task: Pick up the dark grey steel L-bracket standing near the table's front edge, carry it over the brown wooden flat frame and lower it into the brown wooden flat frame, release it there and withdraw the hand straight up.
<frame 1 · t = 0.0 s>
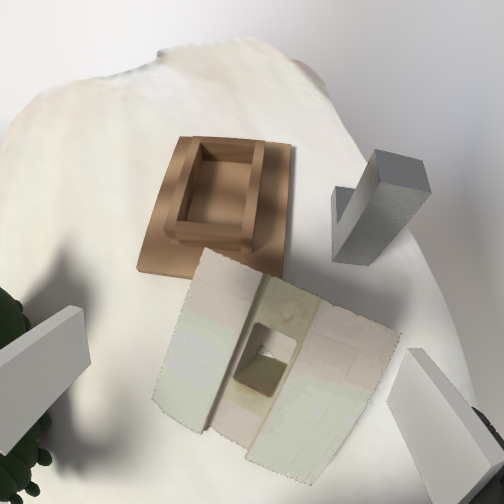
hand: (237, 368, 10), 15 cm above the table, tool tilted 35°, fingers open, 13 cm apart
toy figurine: (28, 386, 22), on the table
bracket: (350, 250, 29), on the table
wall: (257, 384, 24), on the table
brown wooden flat frame: (221, 202, 31), on the table
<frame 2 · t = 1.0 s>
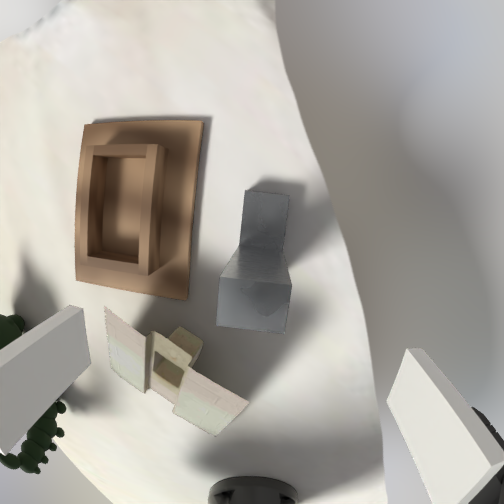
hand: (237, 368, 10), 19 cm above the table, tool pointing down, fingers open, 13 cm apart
toy figurine: (37, 359, 34), on the table
bracket: (259, 259, 29), on the table
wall: (178, 363, 32), on the table
brown wooden flat frame: (131, 206, 29), on the table
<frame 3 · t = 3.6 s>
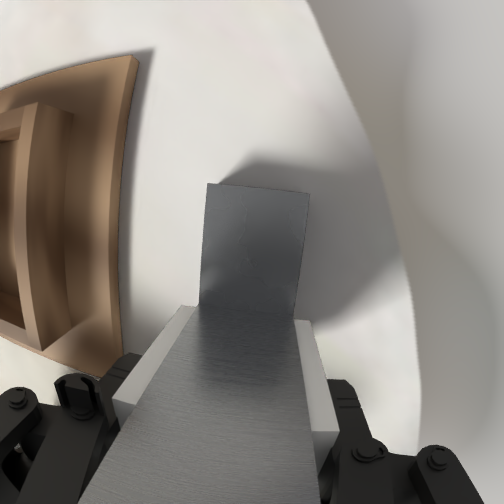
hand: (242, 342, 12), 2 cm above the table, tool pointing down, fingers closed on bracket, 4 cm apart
bracket: (246, 321, 14), on the table, touching gripper
brown wooden flat frame: (30, 219, 14), on the table
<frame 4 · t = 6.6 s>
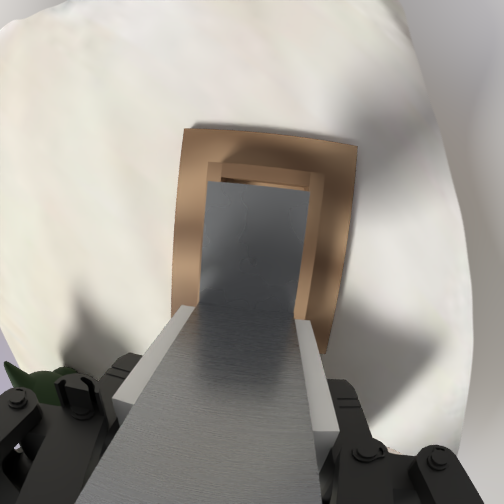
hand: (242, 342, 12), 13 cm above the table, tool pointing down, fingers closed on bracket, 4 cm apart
toy figurine: (96, 413, 30), on the table
bracket: (246, 320, 14), point 10 cm above the table, touching gripper
brown wooden flat frame: (259, 244, 24), on the table
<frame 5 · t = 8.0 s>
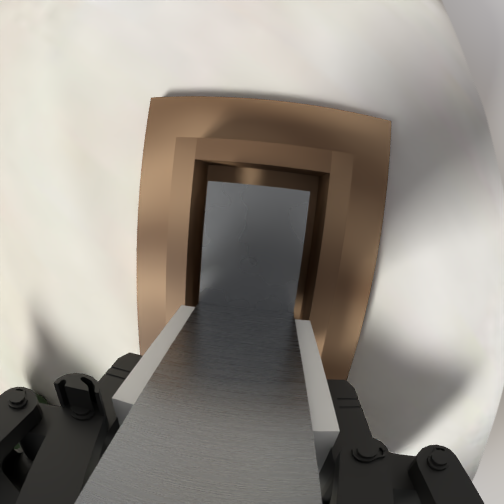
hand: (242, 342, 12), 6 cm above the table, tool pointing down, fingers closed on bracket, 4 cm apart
bracket: (246, 319, 14), point 3 cm above the table, touching gripper
brown wooden flat frame: (254, 256, 17), on the table
when the fingers open (6 cm above the table, at t = 8.3 s): bracket drops 2 cm, resting on brown wooden flat frame.
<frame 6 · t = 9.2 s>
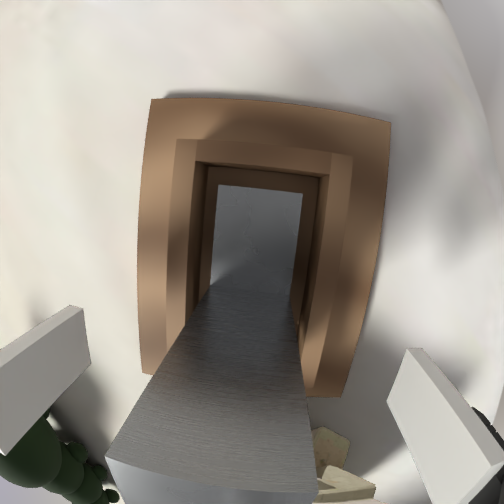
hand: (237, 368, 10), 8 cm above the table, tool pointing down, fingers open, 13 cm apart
toy figurine: (72, 442, 23), on the table
bracket: (249, 303, 17), point 1 cm above the table, touching brown wooden flat frame
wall: (288, 455, 21), on the table
brown wooden flat frame: (255, 257, 17), on the table
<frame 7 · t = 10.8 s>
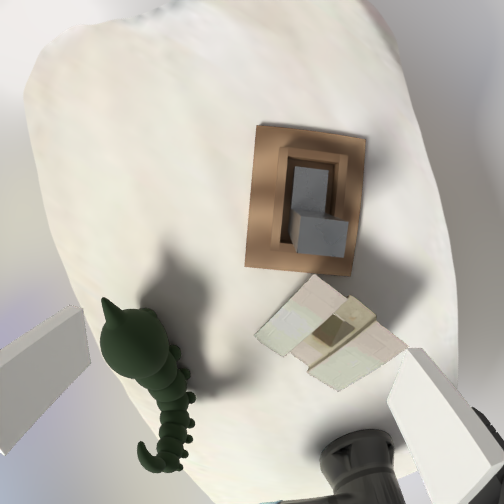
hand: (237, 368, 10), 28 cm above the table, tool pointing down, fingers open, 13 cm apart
toy figurine: (163, 352, 43), on the table
bracket: (304, 221, 36), point 1 cm above the table, touching brown wooden flat frame
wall: (322, 328, 40), on the table
brown wooden flat frame: (305, 201, 37), on the table
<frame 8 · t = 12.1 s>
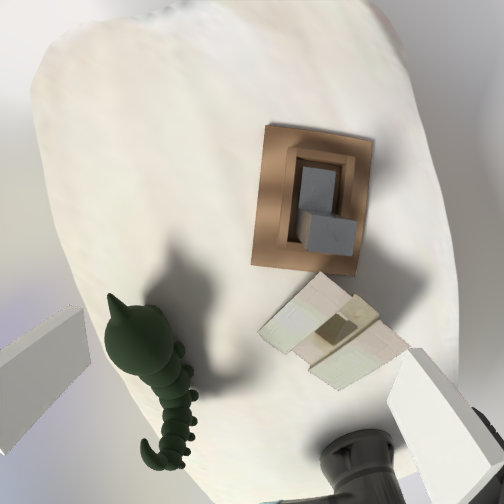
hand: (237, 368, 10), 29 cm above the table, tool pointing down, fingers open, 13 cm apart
toy figurine: (167, 349, 43), on the table
bracket: (311, 221, 36), point 1 cm above the table, touching brown wooden flat frame
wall: (324, 327, 41), on the table
brown wooden flat frame: (312, 201, 37), on the table
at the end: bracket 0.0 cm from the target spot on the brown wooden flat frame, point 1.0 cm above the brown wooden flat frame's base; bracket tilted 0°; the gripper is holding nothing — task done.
